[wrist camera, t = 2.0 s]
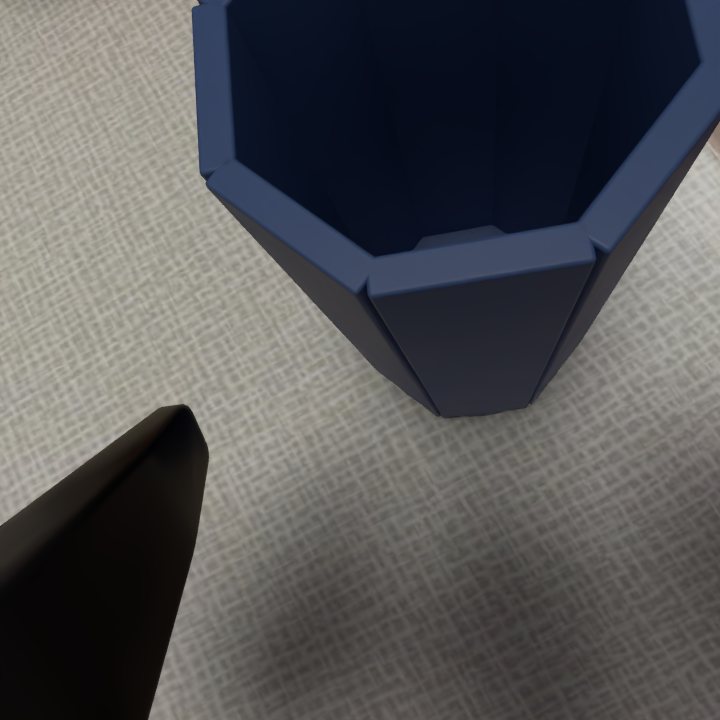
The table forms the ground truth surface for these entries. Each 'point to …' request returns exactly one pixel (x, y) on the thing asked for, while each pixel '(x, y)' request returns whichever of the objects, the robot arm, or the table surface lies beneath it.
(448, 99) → the measuring cup
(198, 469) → the robot arm
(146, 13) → the table surface
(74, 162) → the table surface
